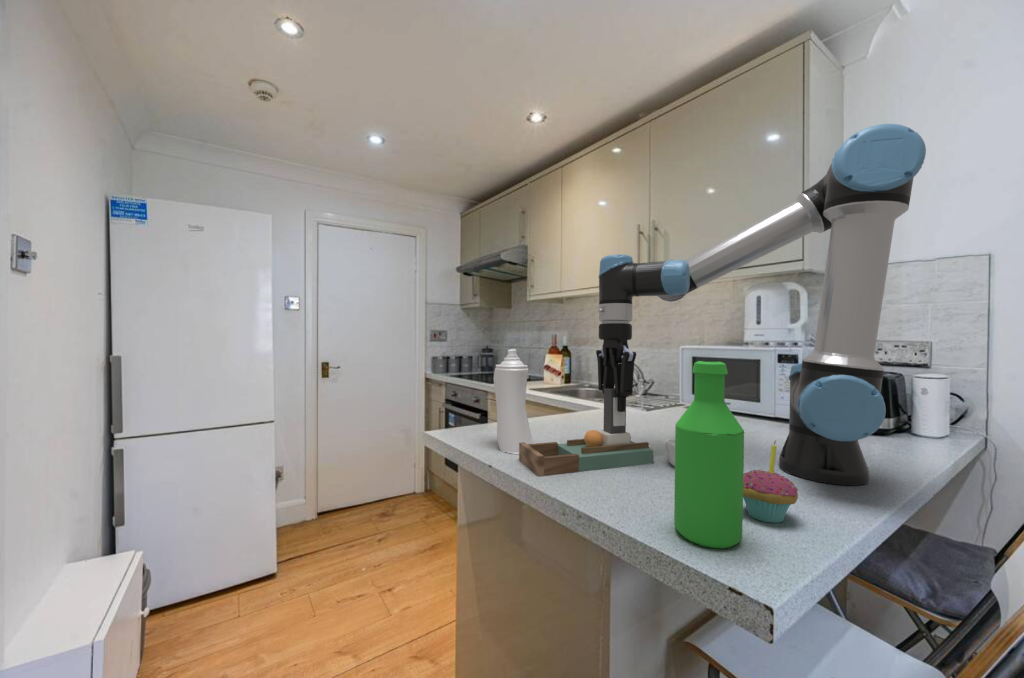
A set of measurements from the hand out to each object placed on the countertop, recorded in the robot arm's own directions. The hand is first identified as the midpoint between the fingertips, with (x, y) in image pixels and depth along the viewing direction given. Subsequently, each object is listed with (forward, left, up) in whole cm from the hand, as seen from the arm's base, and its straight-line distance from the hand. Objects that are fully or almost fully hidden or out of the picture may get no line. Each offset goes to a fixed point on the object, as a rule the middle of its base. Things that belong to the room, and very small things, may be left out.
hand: (614, 423), depth 95 cm
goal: (0, +16, -8) cm, 18 cm away
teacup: (-10, -13, -9) cm, 18 cm away
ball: (0, +6, -3) cm, 6 cm away
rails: (0, +2, -5) cm, 6 cm away
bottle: (-36, +8, -8) cm, 38 cm away
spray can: (+16, +19, -8) cm, 26 cm away
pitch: (0, +3, -8) cm, 9 cm away
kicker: (0, 0, -5) cm, 5 cm away
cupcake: (-34, -6, -8) cm, 36 cm away
